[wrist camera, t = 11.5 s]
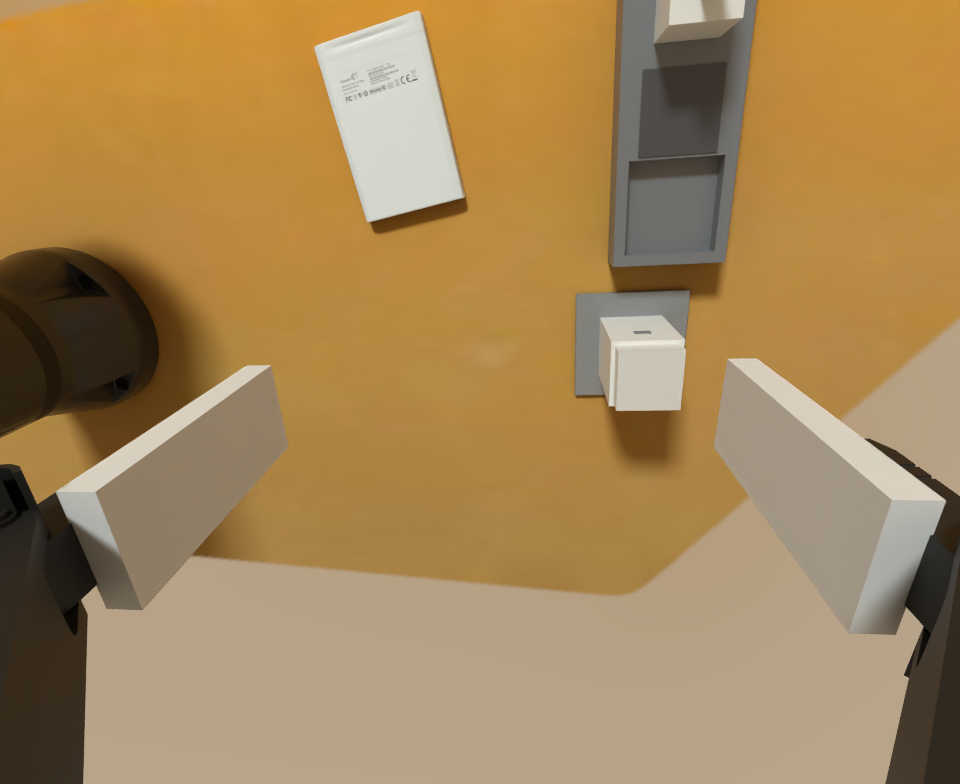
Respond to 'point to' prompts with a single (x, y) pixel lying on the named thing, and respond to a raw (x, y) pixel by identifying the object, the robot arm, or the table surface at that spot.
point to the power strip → (676, 128)
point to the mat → (618, 305)
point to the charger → (641, 363)
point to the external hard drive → (391, 117)
